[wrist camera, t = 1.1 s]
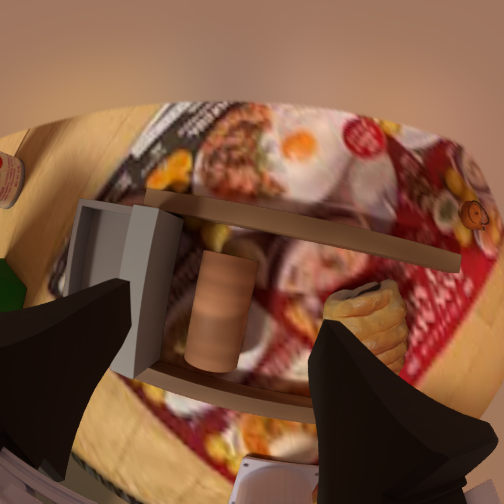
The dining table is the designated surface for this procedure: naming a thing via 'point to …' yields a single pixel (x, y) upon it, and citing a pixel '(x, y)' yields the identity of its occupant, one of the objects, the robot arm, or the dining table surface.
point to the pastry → (374, 319)
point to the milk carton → (10, 289)
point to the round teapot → (471, 215)
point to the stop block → (147, 285)
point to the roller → (220, 311)
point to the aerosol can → (10, 179)
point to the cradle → (96, 244)
